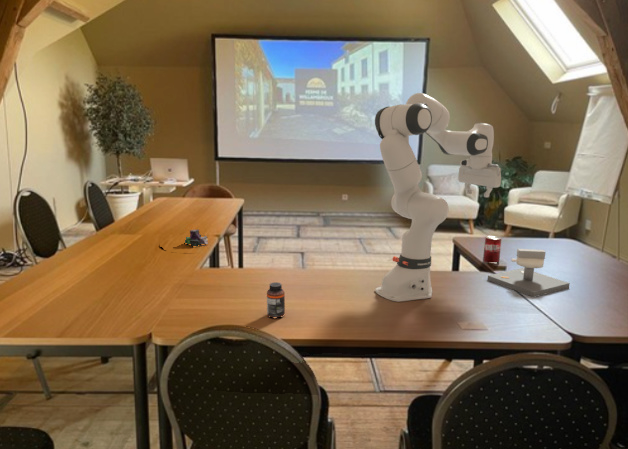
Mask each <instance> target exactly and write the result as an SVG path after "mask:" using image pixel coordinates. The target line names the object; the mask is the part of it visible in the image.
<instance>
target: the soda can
mask: <svg viewBox="0 0 628 449" xmlns="http://www.w3.org/2000/svg"><path fill="white" fill-rule="evenodd" d="M501 249H502V238H501V237H500V236H497V235H487V236H485V238H484V246H483V257H482V261H483V263H485V262H486V263H485V264H488V263H489V262H499V263H500V258H501Z"/></svg>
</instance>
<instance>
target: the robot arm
mask: <svg viewBox="0 0 628 449" xmlns="http://www.w3.org/2000/svg"><path fill="white" fill-rule="evenodd" d="M450 118H451V115H450V112H449V110H448V109H447V108H446V106H444V105H443V103H441V102H440V101H438V100H437V99H435V98H434V97H432V96H430V95H428V94H426V93H423V92H417V93H416V92H415V93H413V94H412V95H411V96H409V98H408V99H407V101H406V103H405V104H395V105H392V106H385V107H383V108H381V109H379V110H378V111H377V112H376V114H375V118H374V125H375V129H376V132H377V135H378V136H379V138H380V139H381V140H380V144H379V150H380V154H381V157H382V161H383V164H384V166H385V170H386V172H387V174H388V177H389V178H390V181H391V183H392V185H393V191H394V193H393V195H392V197H391V201H390V206H391V209H392V211H394V212H395V213H396V214H398V215H400V217H403V218H407V219H409V220H411V224H410V227H409V229H408V230H406V231H405V232H404V233H403V234H402V236H401V249H400V250H401V251H400V252H401V253H400V254H399V256H395V255H394V256H393V257H392V262H394V263H396V265H395V266H394V267H392V268H391V269H390V271H388V272H387V273H386V274H385V275H384V276H383V278H382V281H381V285H380V286H378V287H375V290H374V291H375V293H376V294H378V295H379V296H381V297H382V298H384V299H386V300H389V301H391V302H407V301H415V300H425V299H430V298H431V299H432V295H433V288H432V282H431V281H432V280H431V266H432V256H431V254H432V252H431V250H432V242H433V236H434V234H435V231H436V229H437V228H438V226H439V225H440V224H442V223H443V222H444V221H445V220H446V219H447V217H448V214H449V204H448V202H447V200H446V199H443V197H440V196H439V195H436V194H433V193H428V192H425V191H422V189H420V185H419V183H420V182H421V180H422V178H423V173H422V170H421V168H420V165H419V162H418V161H417V158H416V155H415V152H414V151H413V148H412V147H411V145H410V141H409V139H410V136H419V135H423V134H424V133H425V134H426V135H427V136H428V137H429V138H431V139H432V140H433V141H434V142H435V143H436V144H437V146H438V147H439V149H440V150H441V152H442V153H443V154H444V155H447V156H448V155H449V156H450V155H451V156H453V155H455V156H469V158H465V159H461V160H460V161H459V165H460V166H459V167H458V175H457V180H458V182H459V183H462V184H463V183H464V187H465V189H466V192H465V193H466V194H467V195H472V194H473V189H472V188H471V185H474V186H475V185H476V186H483V187H486V188H485V189H486V191H485V192H483V198H490V193H491V192H492V191H493V188H499V187H500V186H501V184H502V172H501V170H502V168H501V167H500V165H499V164H494V163H492V161H493V151H492V150H493V147H494V143H495V142H494V141H495V138H494V136H495V133H494V132H495V131H494V127H493V125H491V124H489V123H484V122H478V123H477V122H476V123H474V125H473V127H472V128H471V129H469V130H468V131H463V130H462V131H458V130H456V131H455V130H450V129H448V130H447V127H448V126H449V124H450V121H451V120H450Z"/></svg>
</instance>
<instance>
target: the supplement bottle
mask: <svg viewBox="0 0 628 449" xmlns="http://www.w3.org/2000/svg"><path fill="white" fill-rule="evenodd" d="M285 296H286V295H285V290H284V289H283V287H282V283H281V282H276V281H275V282H270V283H269V288H268V289H267V291H266V314H267V317H268V316H270V317H281V316H283V315H284V314H285V315H286V312H285V311H286V309H285V308H286V304H285V302H286V301H285V298H286V297H285ZM285 315H284V316H285ZM284 316H283V317H284ZM270 317H269V318H270Z"/></svg>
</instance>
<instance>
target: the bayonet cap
mask: <svg viewBox="0 0 628 449" xmlns="http://www.w3.org/2000/svg"><path fill="white" fill-rule="evenodd" d="M545 259H546V251H545V250H544V249H533V248H531V249H529V248H517V250H516V258H511V262H512V263H516V265H517V266H520V267H522V268H524V267H527V268H534V269H541V268H544V264H545V263H544V261H545Z"/></svg>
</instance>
